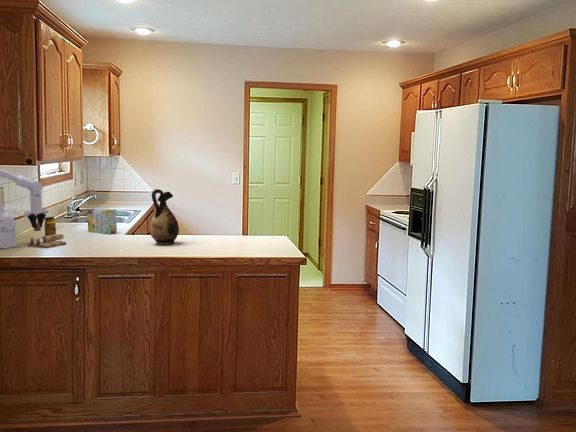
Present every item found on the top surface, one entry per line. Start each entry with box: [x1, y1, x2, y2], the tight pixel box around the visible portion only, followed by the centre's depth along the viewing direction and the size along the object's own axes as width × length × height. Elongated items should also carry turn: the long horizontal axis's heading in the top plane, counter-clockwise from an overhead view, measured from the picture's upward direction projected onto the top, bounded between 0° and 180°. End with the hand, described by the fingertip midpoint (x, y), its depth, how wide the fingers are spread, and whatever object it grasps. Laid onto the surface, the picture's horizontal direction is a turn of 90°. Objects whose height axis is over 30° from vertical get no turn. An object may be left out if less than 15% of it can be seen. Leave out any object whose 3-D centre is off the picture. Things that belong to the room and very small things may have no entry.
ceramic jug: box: [149, 188, 180, 246], centre depth 309 cm, size 17×15×30 cm
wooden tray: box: [27, 235, 67, 249], centre depth 308 cm, size 13×14×4 cm
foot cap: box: [33, 222, 42, 232], centre depth 316 cm, size 3×3×4 cm
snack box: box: [86, 207, 118, 235], centre depth 354 cm, size 21×6×15 cm, turn 58°
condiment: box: [40, 216, 57, 240], centre depth 336 cm, size 7×8×12 cm
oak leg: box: [44, 233, 65, 242], centre depth 317 cm, size 10×5×2 cm, turn 156°
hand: (37, 227), depth 316 cm, fingers closed on foot cap, 3 cm apart
